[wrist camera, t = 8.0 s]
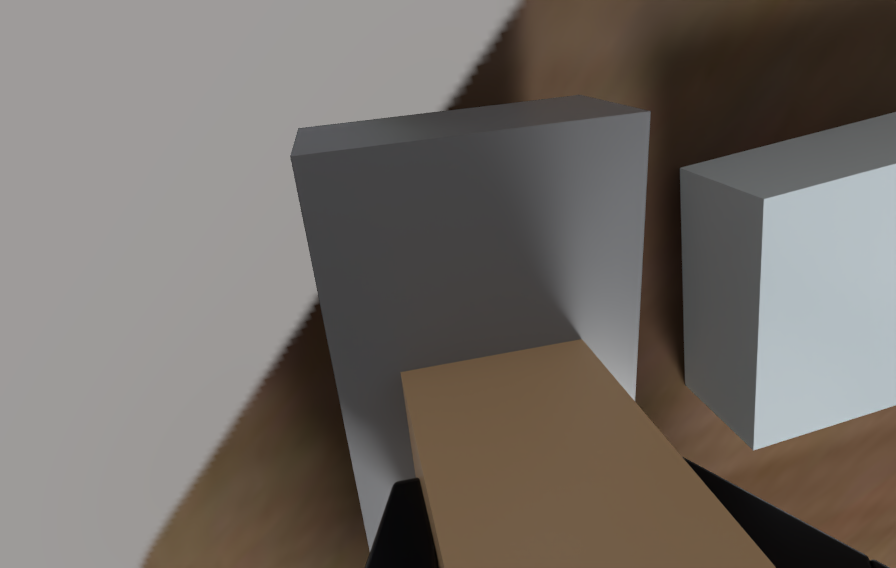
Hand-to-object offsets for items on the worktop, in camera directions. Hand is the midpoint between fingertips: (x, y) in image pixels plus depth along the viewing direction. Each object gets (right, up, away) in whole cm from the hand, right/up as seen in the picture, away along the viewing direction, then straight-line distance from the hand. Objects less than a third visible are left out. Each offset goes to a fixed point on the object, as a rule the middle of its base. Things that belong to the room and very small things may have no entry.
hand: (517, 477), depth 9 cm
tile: (+7, +4, +6) cm, 10 cm away
